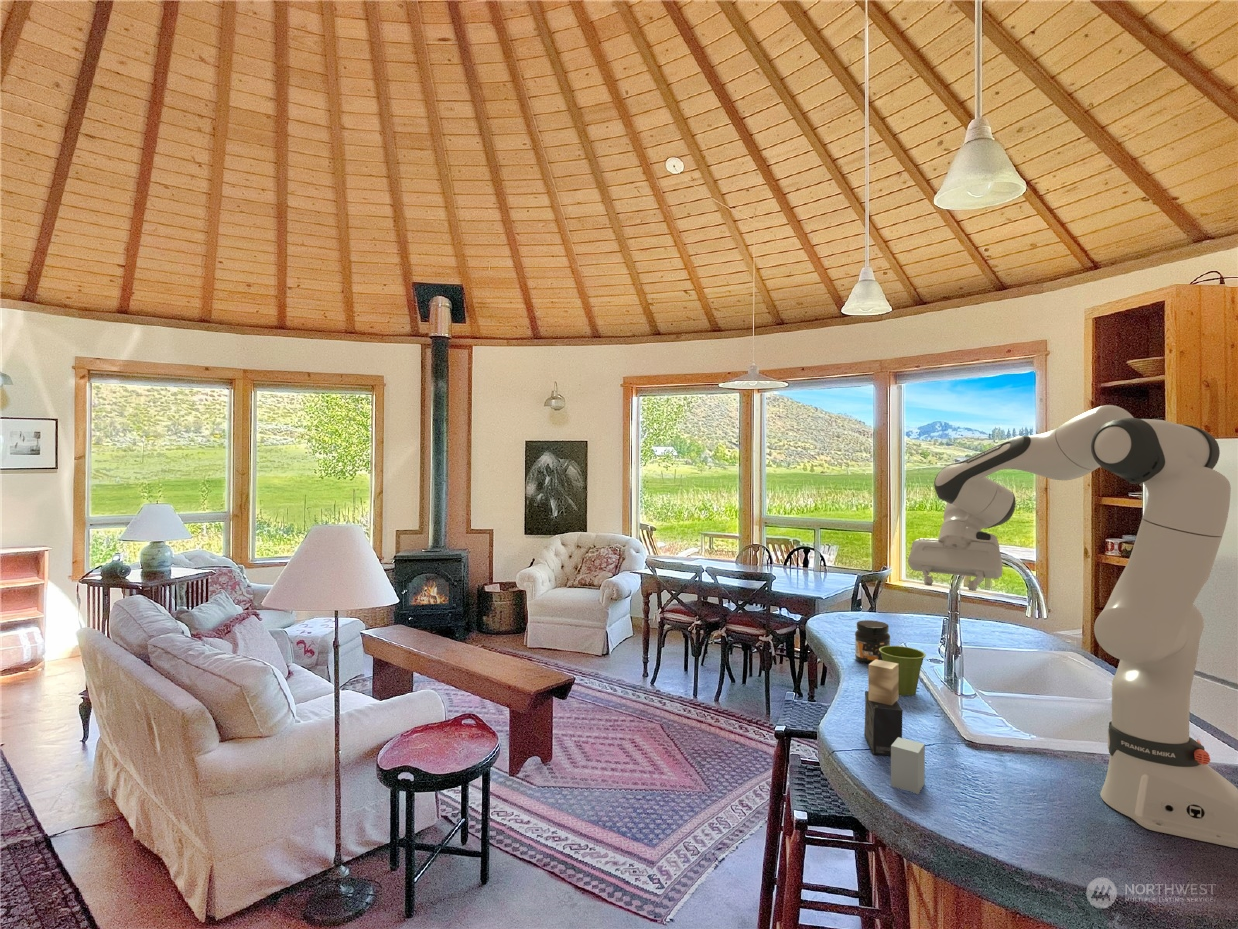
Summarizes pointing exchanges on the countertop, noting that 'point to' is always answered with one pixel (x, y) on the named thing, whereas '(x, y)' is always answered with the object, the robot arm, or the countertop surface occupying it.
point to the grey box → (908, 765)
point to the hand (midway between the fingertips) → (949, 586)
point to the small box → (882, 725)
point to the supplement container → (870, 640)
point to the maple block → (883, 682)
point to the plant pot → (905, 666)
